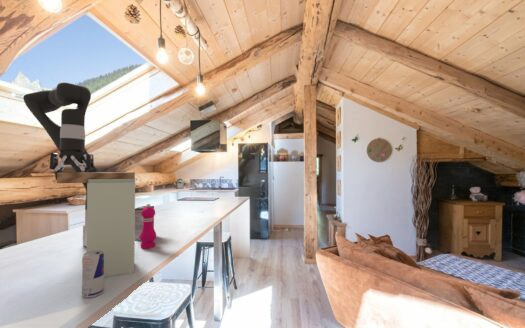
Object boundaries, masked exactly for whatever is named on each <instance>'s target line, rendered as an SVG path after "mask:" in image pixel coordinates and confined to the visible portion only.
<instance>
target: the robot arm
mask: <svg viewBox="0 0 525 328" xmlns="http://www.w3.org/2000/svg"><path fill="white" fill-rule="evenodd" d="M91 98H92V93H91V91H90V90H89V88H88V87H86V86H84V85H79V84H73V83H70V82H67V81H66V82H64V81H63V82H61V81H60V82H59V83H57V85H56V88H54V89H51V90H45V89H44V90H43V89H42V90H39V91H35V92H30V93H26V94H24V95H23V101H24V105H25V106H26V107H27V108H28V110H29V111H30V113H31V114H32V115H33V116H34V118H35V119H36V120H37V121H38V123H39V124H40V125H41V126H42V128H43V130H44V131H45V132H46V133H47V134H48V136H49V137H50V139H51V141H52V142H53V144H54V145H55V147H56V148H57V150H58V151H59V153H58V152H57V153H55V152H51V153H50V157H49V169H50V170H53V171H55V174H54V175H55V180H56V181H57V173H60V172H64V171H63V170H64V169H65V167H68V166H71V168H72V169H73V170H74V171H75V172H99V170H98V168H97V167H96V166H95V164H94V159H95V158H94V154H92V153H88V150H87V148H86V146H85V145H86V131H85V128H86V127H85V119H86V112H87V109H88V107H89V104H90V101H91ZM73 104H74V105H76V107H75V108H65V109H63V110H61V119H60V120H61V121H60V124H61V125H60V124H59V123H56V121H54V120H52V119H51V118H50V117H49V116H48V115H47V114H48V113H52V112H54V111H57V110H59V109H60V108H61V107H62V108H63V107H67V106H71V105H73ZM59 159H60V160H59ZM82 185H83V188H84V189H85V203H84V207H85V209H84V211H85V212H84V225H83V226H82V246H83V247H86V248H87V183H82Z"/></svg>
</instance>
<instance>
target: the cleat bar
mask: <svg viewBox="0 0 525 328" xmlns="http://www.w3.org/2000/svg"><path fill="white" fill-rule="evenodd" d="M135 173H136V172H135V171H120V172H119V171H118V172H117V171H110V172H109V171H106V172H105V171H104V172H102V171H98V172H76V171H75V172H73V171H71V172H69V171H67V172H64V171H63V172H60V173H57V180H56V184H83V183H88V179H134V182H135V183H136V174H135Z"/></svg>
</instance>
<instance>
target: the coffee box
mask: <svg viewBox="0 0 525 328" xmlns="http://www.w3.org/2000/svg"><path fill="white" fill-rule="evenodd" d="M150 207H152V208H154V209H155V205H150ZM144 208H146V205H142V206H139V207H135V241H140V234H141V232H142V229H143V221H142V220H143V219H142V218H143V216H142V215H141V212H142V210H143V209H144ZM153 217H154V218H155V215H154V216H153ZM153 227H154V228H155V220H154V221H153Z"/></svg>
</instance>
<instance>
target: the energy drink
mask: <svg viewBox="0 0 525 328" xmlns="http://www.w3.org/2000/svg"><path fill="white" fill-rule="evenodd" d="M81 264H82V265H81V266H82V267H81V273H82V274H81V275H82V276H81V278H82V279H81V296H82V297H83V298H85V299H92V298H96V297H98V296H100V295H102V294H103V292H104V289H105V288H104V282H105V281H104V278H105V277H104V253H103V251H91V252H87V251H86V252H84V253H83V255H82V263H81Z"/></svg>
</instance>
